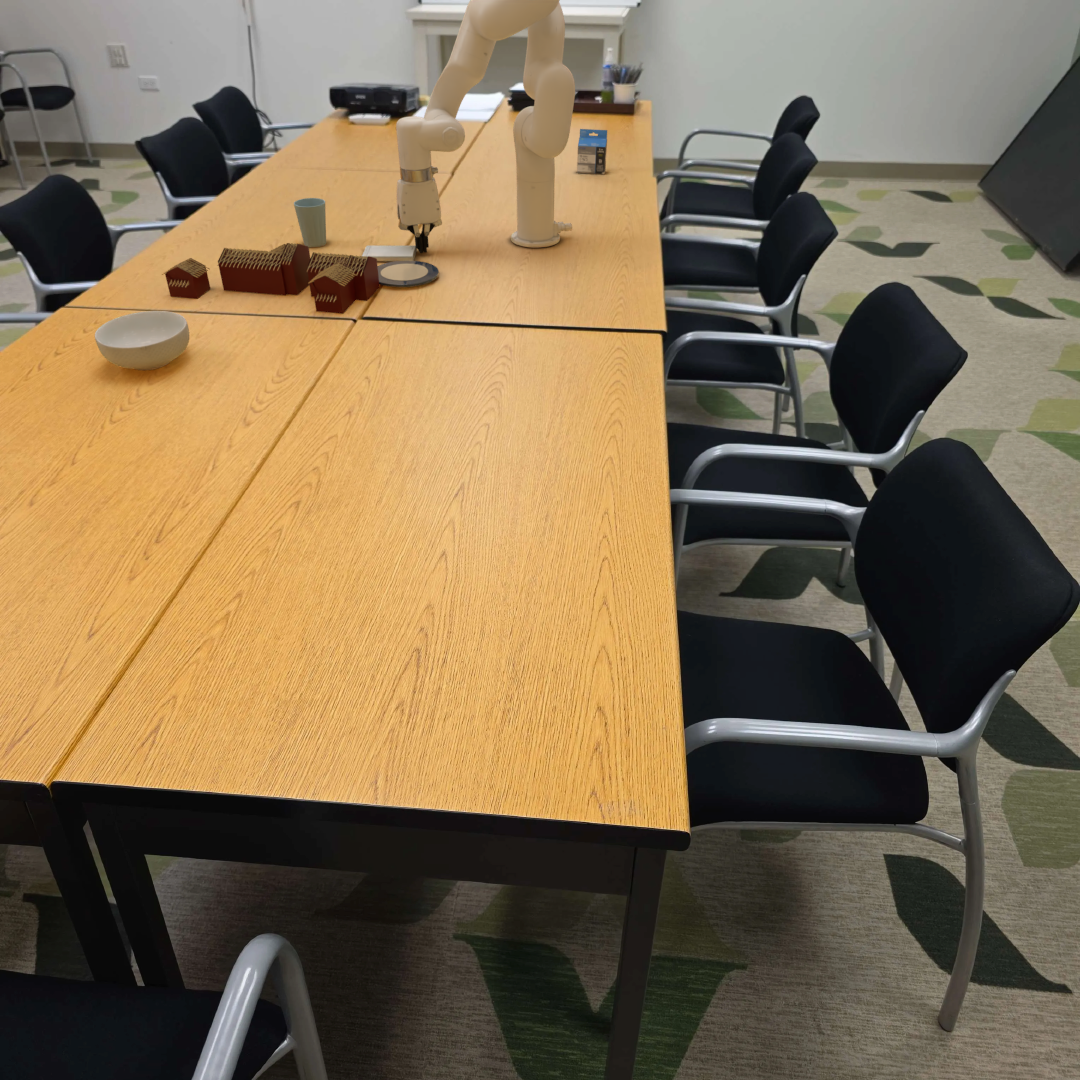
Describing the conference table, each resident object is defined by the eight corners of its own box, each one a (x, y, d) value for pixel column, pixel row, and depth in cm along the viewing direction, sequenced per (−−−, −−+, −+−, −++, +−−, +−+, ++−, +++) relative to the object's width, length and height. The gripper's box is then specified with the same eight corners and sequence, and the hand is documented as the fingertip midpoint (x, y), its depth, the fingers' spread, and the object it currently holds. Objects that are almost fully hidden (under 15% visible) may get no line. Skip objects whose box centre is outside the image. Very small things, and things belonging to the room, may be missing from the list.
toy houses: (383, 283, 211) (379, 239, 205) (351, 317, 195) (345, 271, 189) (204, 269, 218) (194, 226, 213) (158, 301, 202) (147, 255, 196)
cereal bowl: (118, 344, 184) (109, 311, 179) (203, 342, 185) (195, 308, 181) (92, 383, 170) (81, 347, 166) (184, 379, 171) (175, 344, 167)
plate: (429, 262, 223) (429, 256, 222) (446, 285, 211) (446, 279, 210) (364, 270, 218) (363, 264, 217) (378, 293, 206) (377, 287, 205)
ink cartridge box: (576, 173, 289) (577, 131, 281) (578, 170, 292) (579, 128, 285) (604, 174, 288) (606, 132, 280) (605, 171, 291) (607, 129, 283)
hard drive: (416, 244, 229) (366, 244, 228) (412, 255, 222) (361, 255, 222) (416, 251, 230) (367, 250, 229) (413, 262, 223) (362, 262, 223)
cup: (334, 246, 232) (328, 204, 226) (303, 250, 229) (297, 208, 223) (326, 237, 238) (321, 196, 231) (297, 241, 235) (290, 200, 229)
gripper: (442, 167, 222) (447, 243, 233) (381, 173, 218) (389, 249, 229) (451, 175, 216) (455, 252, 227) (388, 181, 212) (396, 259, 223)
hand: (422, 250), depth 228 cm, fingers closed
